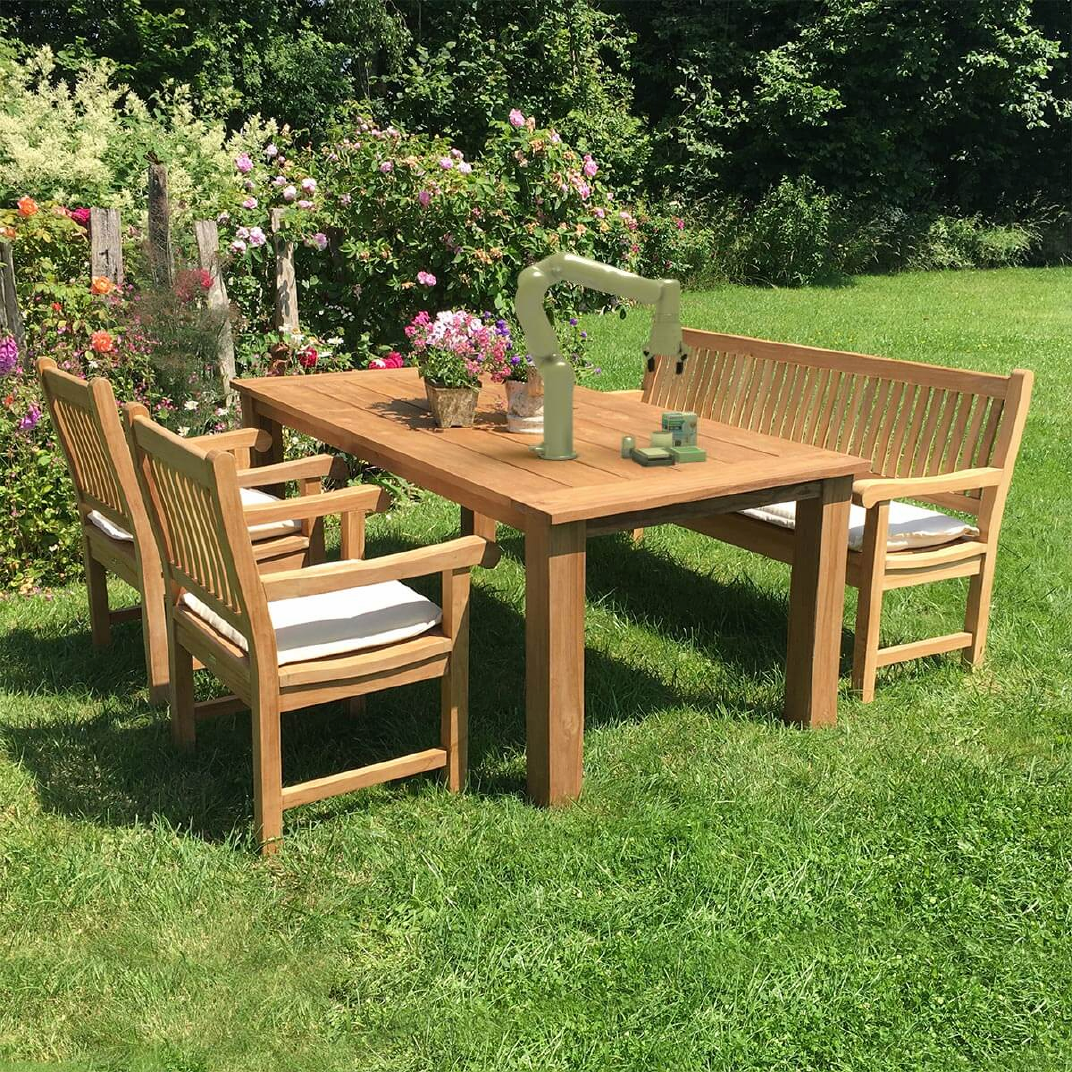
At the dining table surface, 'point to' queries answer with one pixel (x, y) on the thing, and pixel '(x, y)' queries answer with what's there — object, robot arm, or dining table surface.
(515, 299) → the robot arm
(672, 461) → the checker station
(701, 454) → the tray
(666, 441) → the ceramic cup
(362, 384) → the dining table surface
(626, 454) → the cell
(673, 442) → the light bulb box
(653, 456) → the checker pad
